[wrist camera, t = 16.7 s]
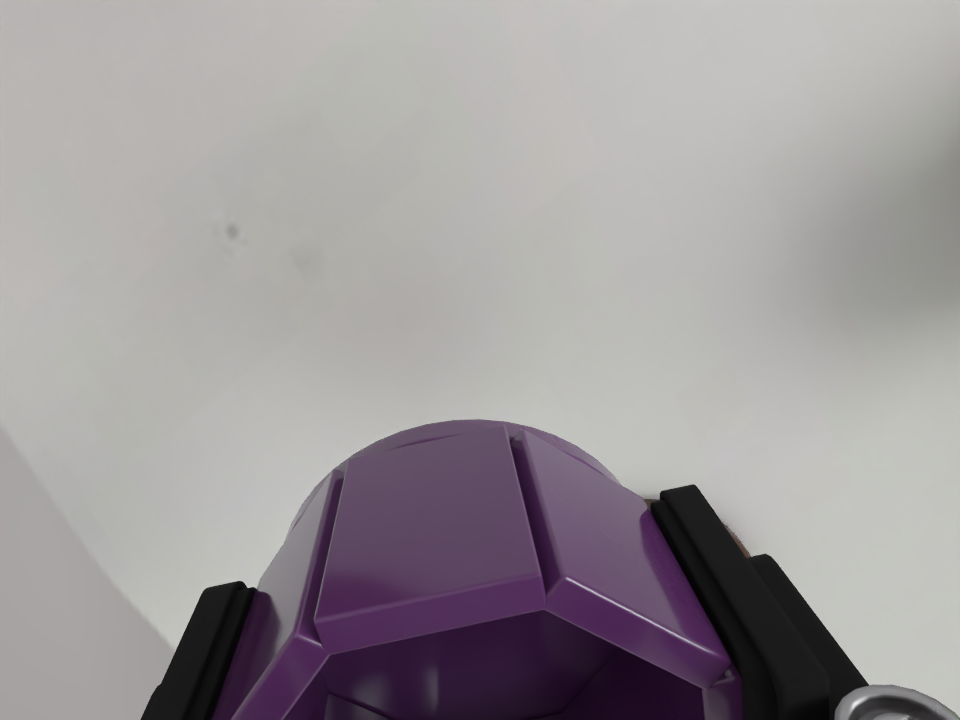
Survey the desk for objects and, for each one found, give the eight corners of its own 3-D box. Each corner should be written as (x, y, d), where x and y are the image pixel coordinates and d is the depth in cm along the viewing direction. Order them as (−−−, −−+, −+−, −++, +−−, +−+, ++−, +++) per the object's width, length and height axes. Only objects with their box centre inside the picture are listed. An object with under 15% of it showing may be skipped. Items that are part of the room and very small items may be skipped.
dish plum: (337, 750, 13) (301, 1012, 9) (226, 464, 11) (118, 662, 7) (665, 680, 13) (762, 915, 9) (626, 379, 11) (734, 531, 7)
